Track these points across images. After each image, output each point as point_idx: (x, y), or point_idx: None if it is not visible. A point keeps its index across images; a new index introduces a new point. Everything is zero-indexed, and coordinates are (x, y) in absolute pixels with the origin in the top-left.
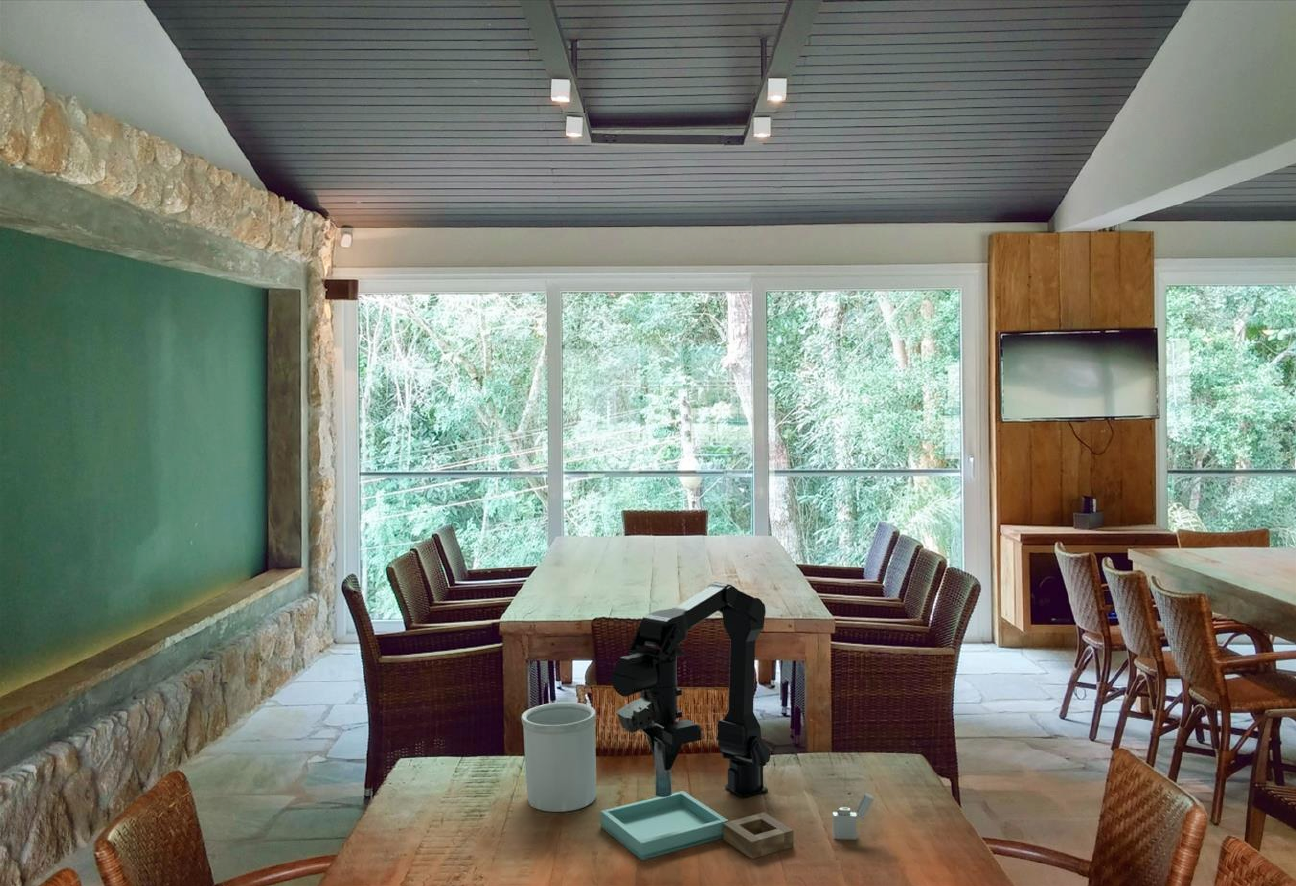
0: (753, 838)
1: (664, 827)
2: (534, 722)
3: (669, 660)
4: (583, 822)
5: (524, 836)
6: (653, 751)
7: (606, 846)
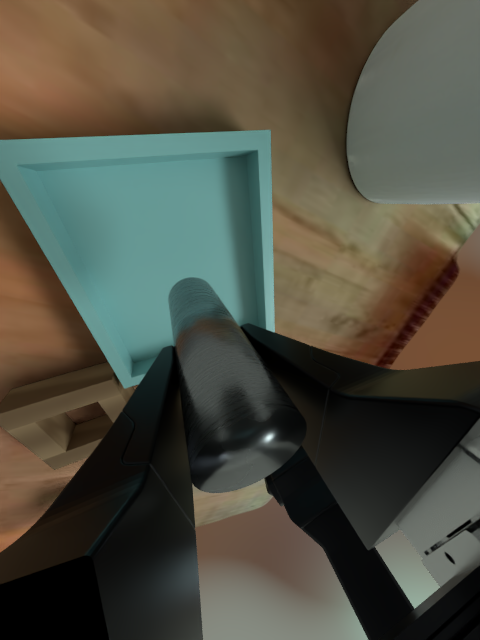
0: (13, 420)
1: (180, 274)
2: None
3: None
4: (291, 107)
5: None
6: (270, 346)
7: (136, 90)
